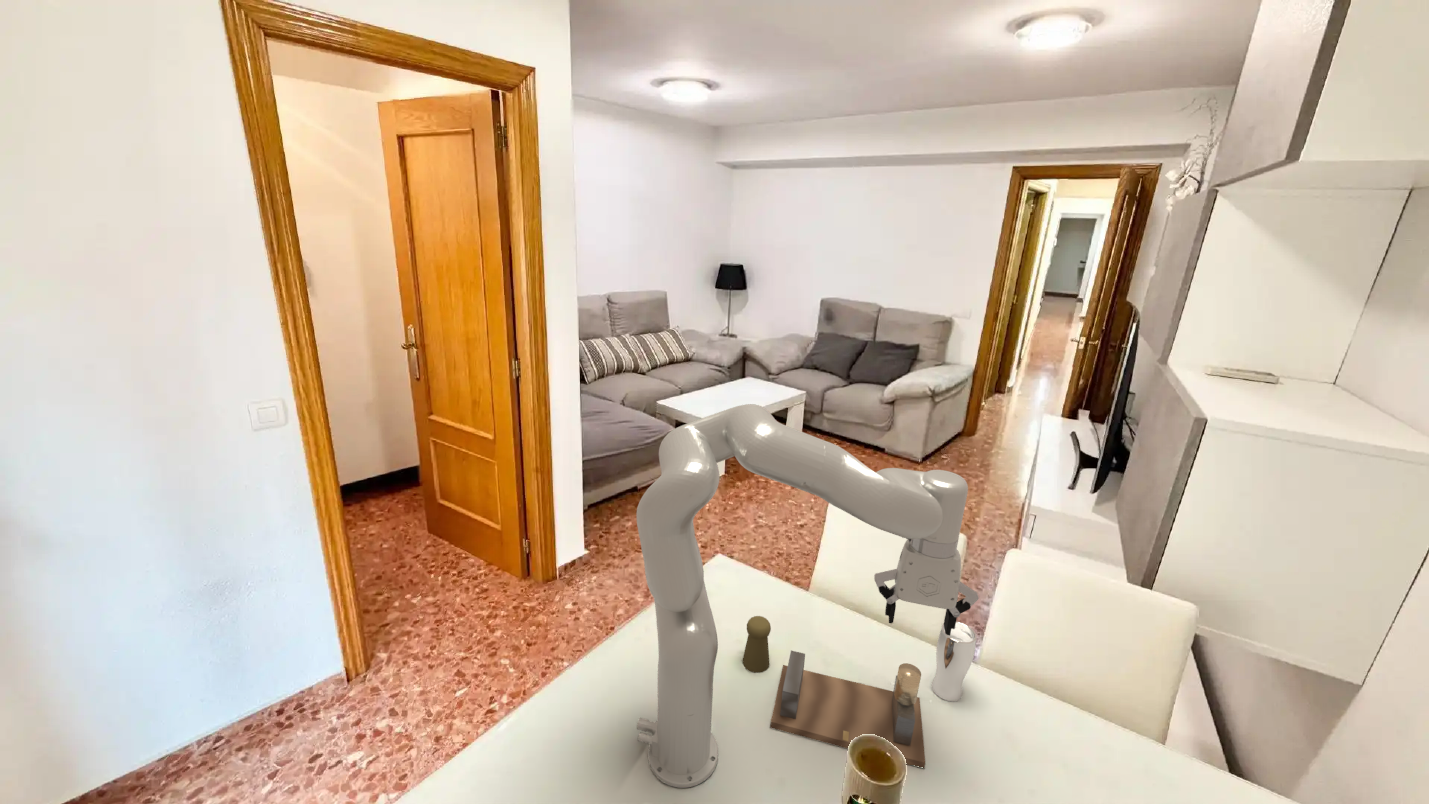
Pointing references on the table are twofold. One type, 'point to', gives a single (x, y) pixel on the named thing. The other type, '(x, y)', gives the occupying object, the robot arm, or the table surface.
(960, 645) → the beer glass
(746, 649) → the olive brown pawn
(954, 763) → the table surface
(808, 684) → the base
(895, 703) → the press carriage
